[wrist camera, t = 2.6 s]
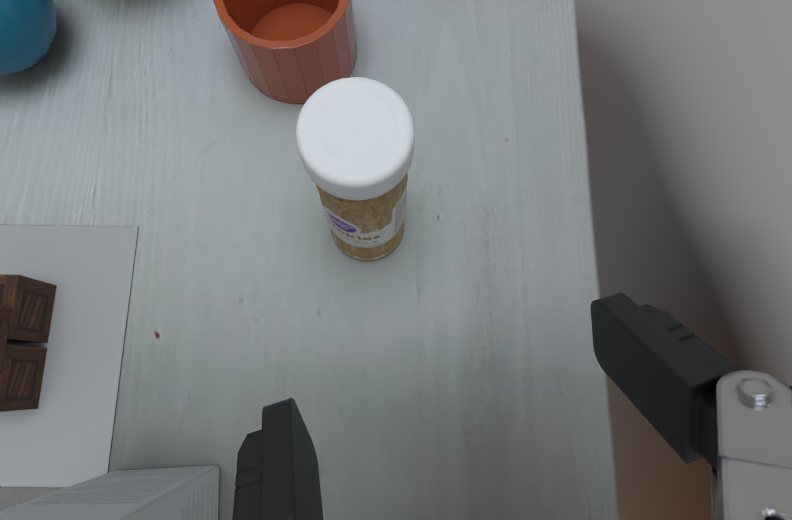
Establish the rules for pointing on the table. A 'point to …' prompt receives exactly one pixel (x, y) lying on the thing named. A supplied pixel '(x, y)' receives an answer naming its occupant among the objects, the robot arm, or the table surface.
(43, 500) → the cosmetic box
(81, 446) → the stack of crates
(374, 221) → the sprinkles bottle
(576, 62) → the table surface
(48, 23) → the ball
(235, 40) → the pot
